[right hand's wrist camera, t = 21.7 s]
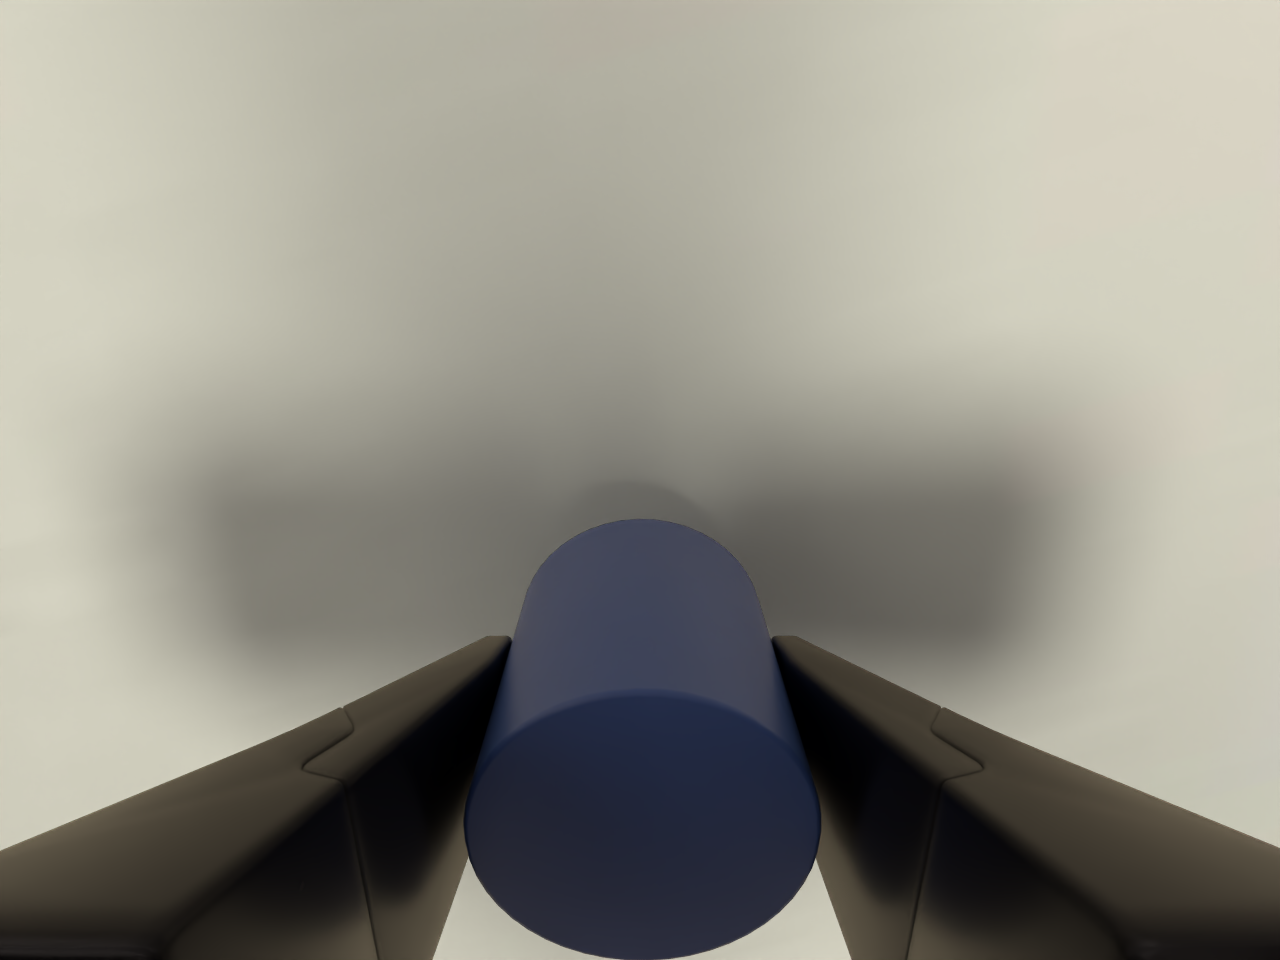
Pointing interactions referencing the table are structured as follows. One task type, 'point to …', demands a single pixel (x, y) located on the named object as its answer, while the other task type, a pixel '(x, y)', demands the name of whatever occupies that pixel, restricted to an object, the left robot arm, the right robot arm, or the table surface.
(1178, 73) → the table surface
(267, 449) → the table surface
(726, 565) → the can
